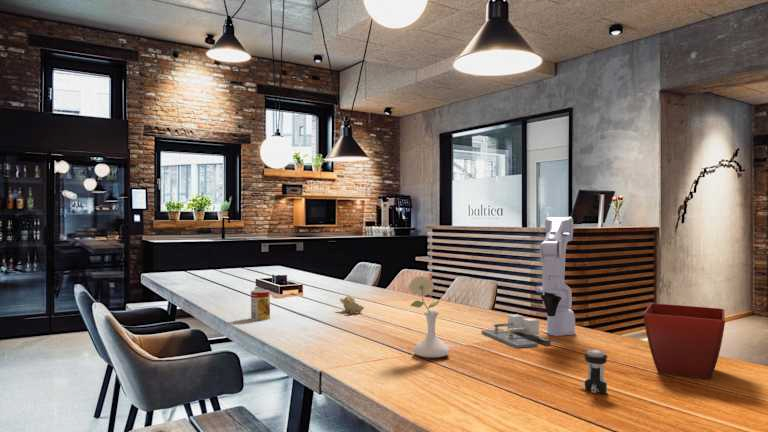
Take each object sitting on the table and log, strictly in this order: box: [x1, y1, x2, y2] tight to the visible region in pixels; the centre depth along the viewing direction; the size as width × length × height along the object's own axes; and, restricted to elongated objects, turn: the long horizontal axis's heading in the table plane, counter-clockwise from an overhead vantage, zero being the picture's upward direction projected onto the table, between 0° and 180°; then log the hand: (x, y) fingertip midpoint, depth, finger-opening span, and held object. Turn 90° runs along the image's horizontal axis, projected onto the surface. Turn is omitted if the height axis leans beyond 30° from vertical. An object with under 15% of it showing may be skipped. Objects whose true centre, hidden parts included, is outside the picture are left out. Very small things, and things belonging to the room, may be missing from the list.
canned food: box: [250, 289, 271, 322], centre depth 231 cm, size 8×8×12 cm
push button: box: [579, 349, 608, 396], centre depth 133 cm, size 7×5×10 cm
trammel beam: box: [506, 326, 552, 346], centre depth 192 cm, size 2×24×2 cm, turn 18°
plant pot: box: [643, 302, 726, 380], centre depth 150 cm, size 19×19×17 cm
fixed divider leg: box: [492, 313, 524, 331], centre depth 199 cm, size 11×4×5 cm, turn 108°
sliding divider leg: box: [507, 317, 540, 336], centre depth 189 cm, size 11×4×5 cm, turn 108°
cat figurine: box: [339, 295, 365, 314], centre depth 246 cm, size 8×7×12 cm
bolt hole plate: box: [481, 328, 539, 349], centre depth 190 cm, size 8×24×1 cm, turn 18°
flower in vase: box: [408, 275, 451, 359], centre depth 168 cm, size 13×11×25 cm
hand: (551, 315), depth 184 cm, fingers closed
